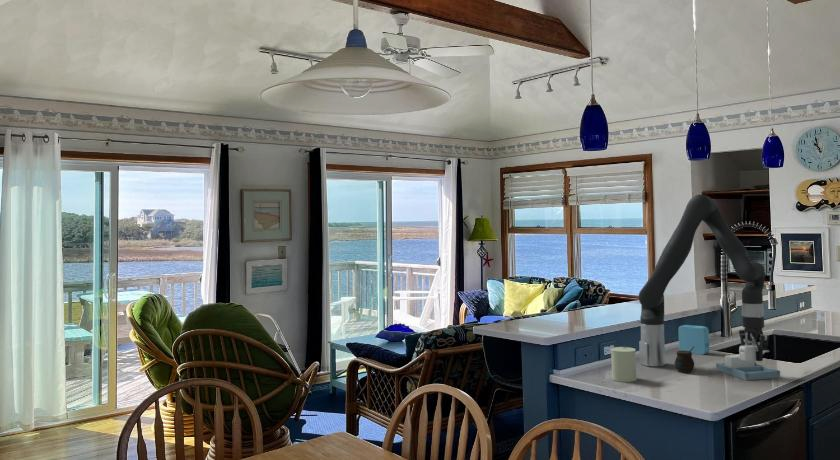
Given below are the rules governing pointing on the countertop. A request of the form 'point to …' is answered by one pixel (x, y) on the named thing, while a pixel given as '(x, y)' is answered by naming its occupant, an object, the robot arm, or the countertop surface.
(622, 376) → the can
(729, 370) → the dock
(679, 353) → the mate gourd
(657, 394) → the countertop surface
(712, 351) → the countertop surface
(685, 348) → the light blue square block
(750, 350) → the power adapter
